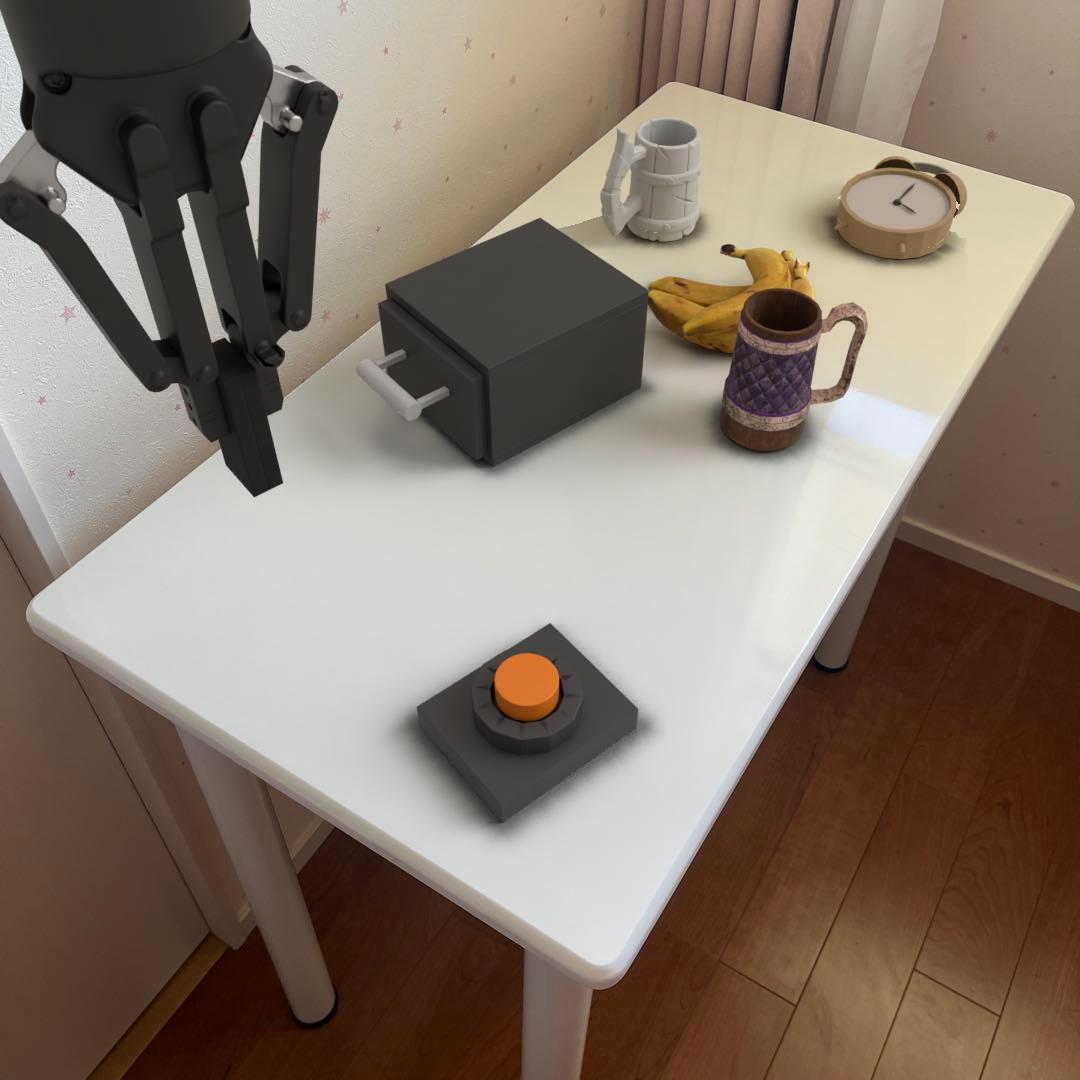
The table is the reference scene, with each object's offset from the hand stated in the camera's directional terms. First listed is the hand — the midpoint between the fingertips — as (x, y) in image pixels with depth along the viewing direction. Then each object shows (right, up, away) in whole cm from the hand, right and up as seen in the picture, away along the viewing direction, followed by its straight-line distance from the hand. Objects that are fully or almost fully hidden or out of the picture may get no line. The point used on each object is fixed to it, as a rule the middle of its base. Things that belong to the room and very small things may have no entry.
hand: (254, 473), depth 50 cm
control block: (+12, -15, +22) cm, 29 cm away
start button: (+12, -13, +19) cm, 26 cm away
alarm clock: (+50, +30, +63) cm, 86 cm away
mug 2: (+33, +6, +42) cm, 54 cm away
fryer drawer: (+8, +9, +43) cm, 45 cm away
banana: (+30, +18, +53) cm, 64 cm away
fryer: (+11, +11, +46) cm, 48 cm away
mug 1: (+24, +29, +62) cm, 73 cm away
